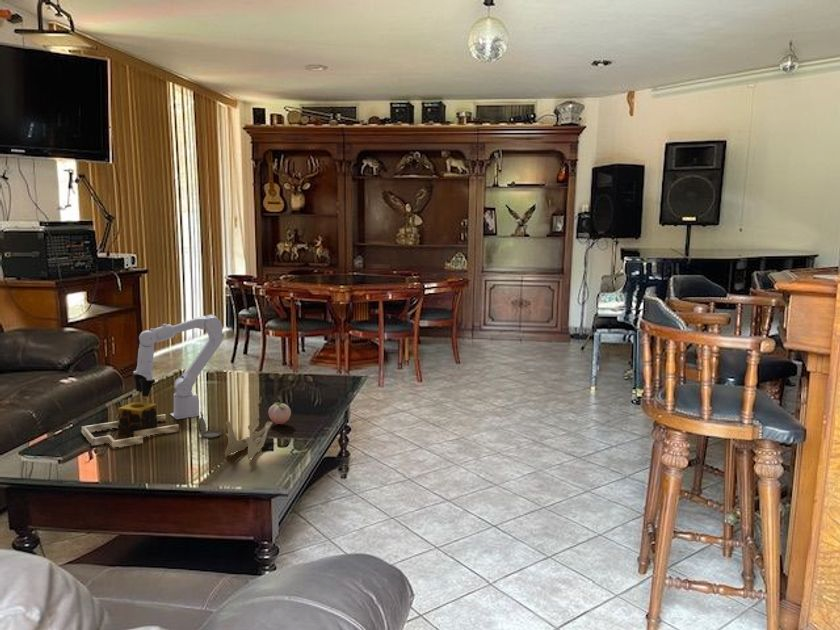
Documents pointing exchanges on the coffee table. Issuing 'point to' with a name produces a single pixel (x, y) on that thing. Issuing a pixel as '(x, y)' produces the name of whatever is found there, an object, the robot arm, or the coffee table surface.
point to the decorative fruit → (279, 413)
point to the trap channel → (127, 441)
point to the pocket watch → (203, 429)
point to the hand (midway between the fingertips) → (142, 393)
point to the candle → (137, 417)
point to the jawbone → (247, 440)
